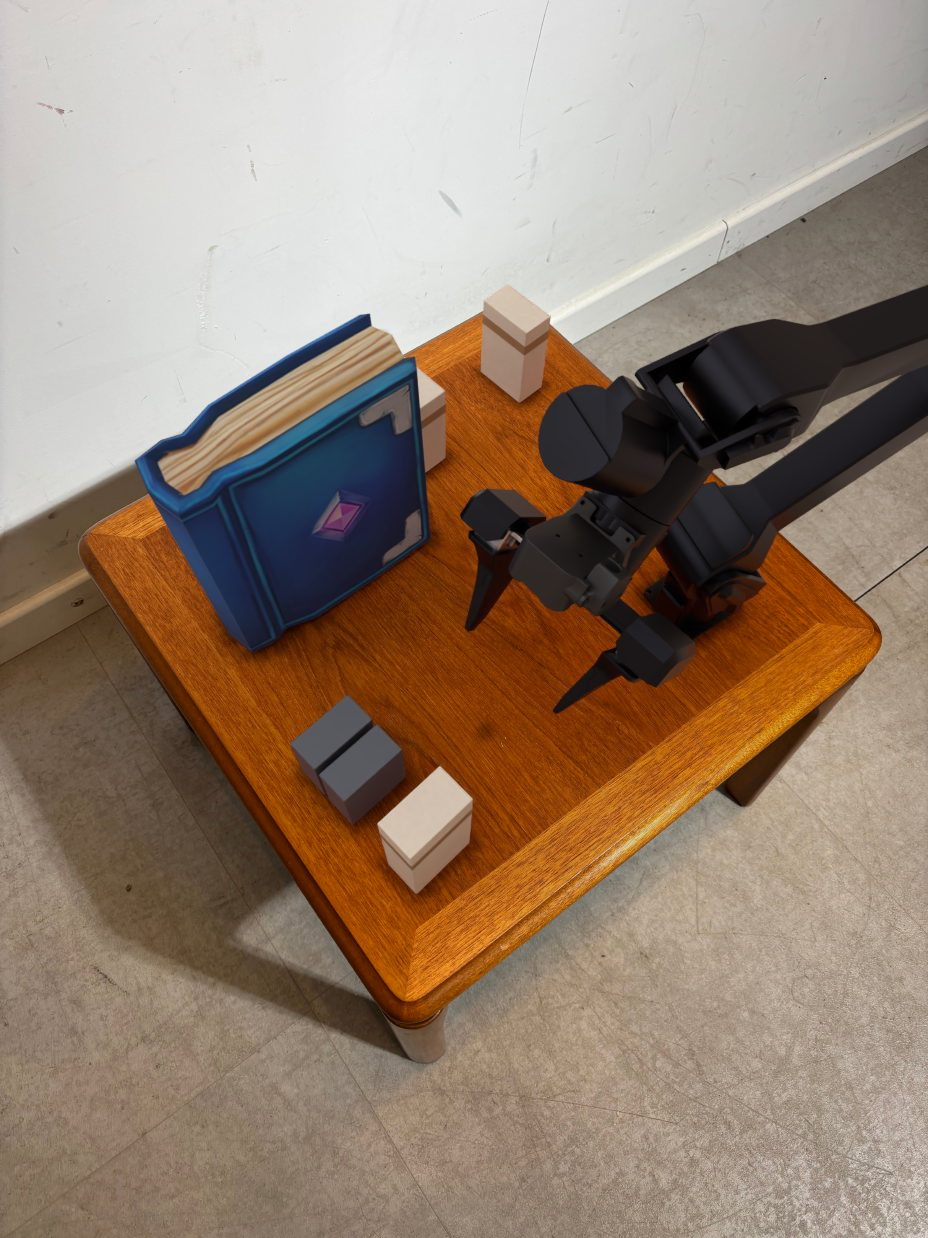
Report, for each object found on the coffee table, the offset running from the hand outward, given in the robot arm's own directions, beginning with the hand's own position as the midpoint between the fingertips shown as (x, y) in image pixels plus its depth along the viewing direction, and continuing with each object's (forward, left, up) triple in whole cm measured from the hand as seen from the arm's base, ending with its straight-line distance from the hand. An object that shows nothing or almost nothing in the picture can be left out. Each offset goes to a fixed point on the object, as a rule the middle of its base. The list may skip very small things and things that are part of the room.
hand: (511, 670), depth 67 cm
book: (+5, -22, -13) cm, 26 cm away
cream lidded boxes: (-17, -31, -13) cm, 38 cm away
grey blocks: (+13, -4, -13) cm, 18 cm away
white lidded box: (+11, +5, -13) cm, 18 cm away
